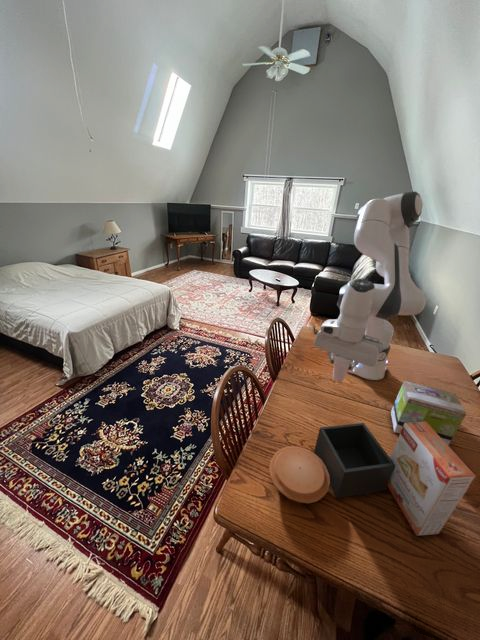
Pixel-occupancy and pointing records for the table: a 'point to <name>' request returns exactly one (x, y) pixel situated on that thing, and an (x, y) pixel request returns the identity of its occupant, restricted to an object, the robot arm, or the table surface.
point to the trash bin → (353, 459)
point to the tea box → (428, 409)
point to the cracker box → (427, 478)
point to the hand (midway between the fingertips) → (340, 366)
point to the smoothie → (340, 367)
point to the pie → (299, 474)
